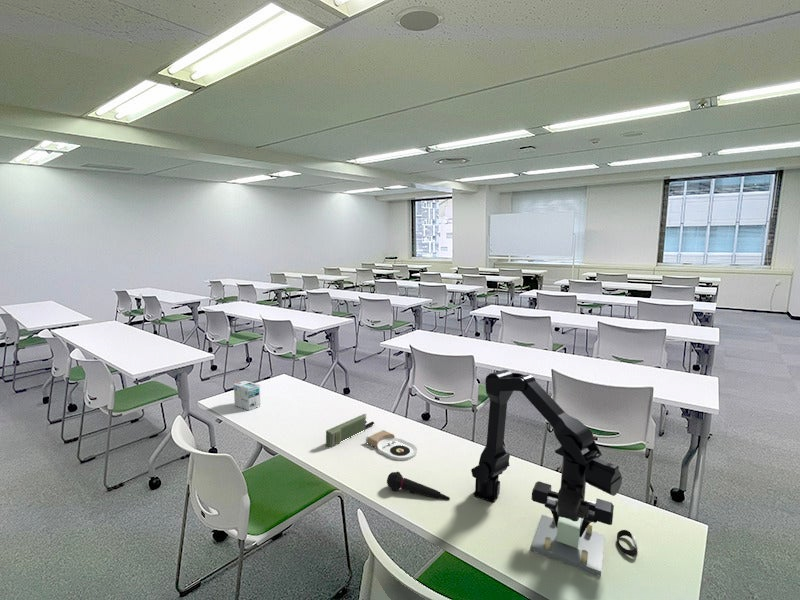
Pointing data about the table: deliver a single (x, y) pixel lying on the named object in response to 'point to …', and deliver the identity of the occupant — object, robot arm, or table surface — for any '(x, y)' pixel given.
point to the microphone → (412, 486)
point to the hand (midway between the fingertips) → (569, 532)
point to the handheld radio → (346, 430)
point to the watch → (633, 552)
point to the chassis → (581, 557)
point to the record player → (391, 445)
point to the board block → (569, 531)
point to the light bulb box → (247, 395)
